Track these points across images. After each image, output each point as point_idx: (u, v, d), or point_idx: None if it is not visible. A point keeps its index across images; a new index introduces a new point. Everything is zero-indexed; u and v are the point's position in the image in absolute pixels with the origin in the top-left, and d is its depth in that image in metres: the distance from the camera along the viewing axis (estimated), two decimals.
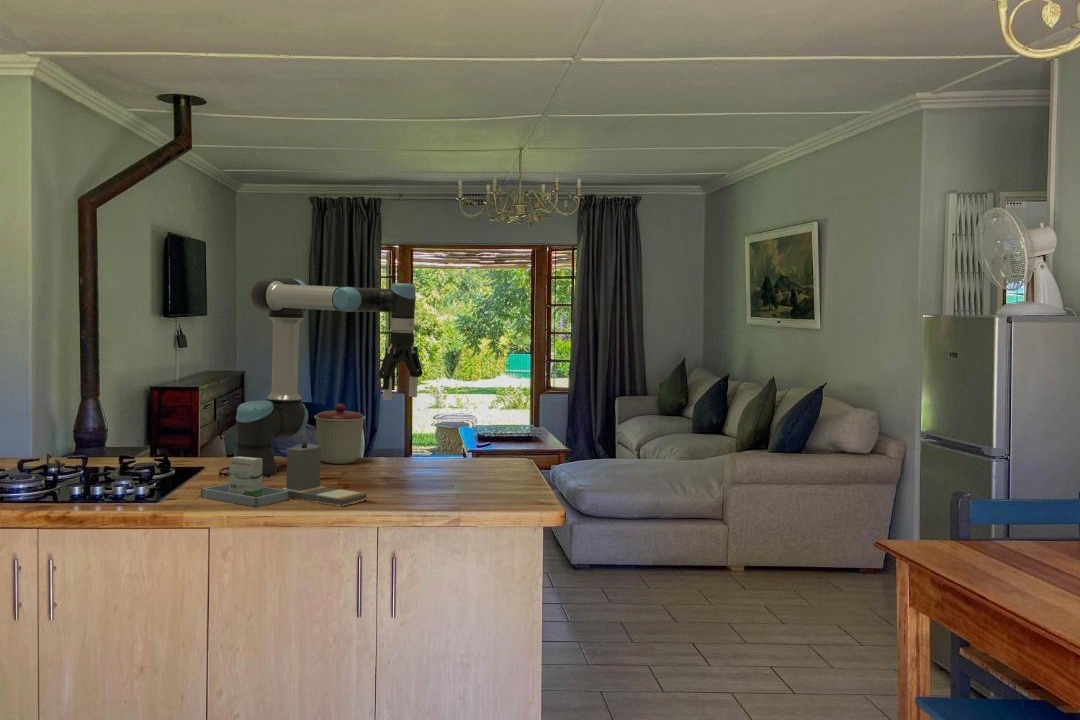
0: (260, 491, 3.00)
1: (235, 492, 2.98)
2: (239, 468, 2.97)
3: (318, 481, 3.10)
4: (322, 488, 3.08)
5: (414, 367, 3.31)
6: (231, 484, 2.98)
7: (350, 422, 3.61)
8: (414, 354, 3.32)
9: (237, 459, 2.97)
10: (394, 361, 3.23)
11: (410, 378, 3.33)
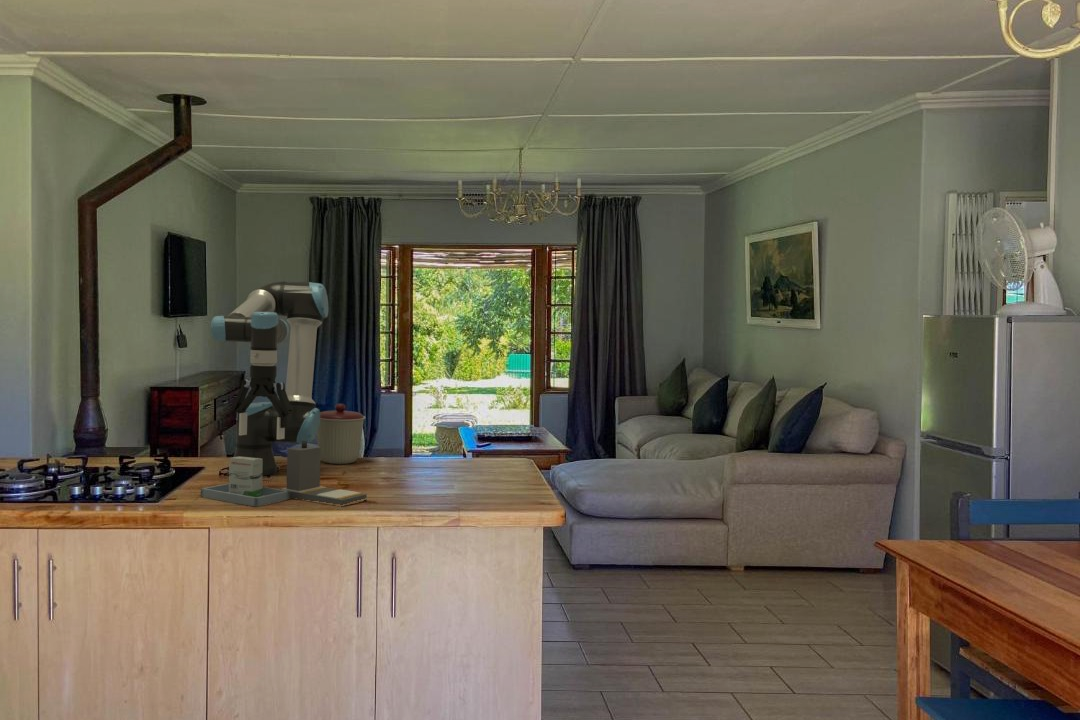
0: (260, 491, 3.00)
1: (235, 492, 2.98)
2: (239, 468, 2.97)
3: (318, 481, 3.10)
4: (322, 488, 3.08)
5: (275, 405, 2.97)
6: (231, 484, 2.98)
7: (350, 422, 3.61)
8: None
9: (237, 459, 2.97)
10: None
11: None
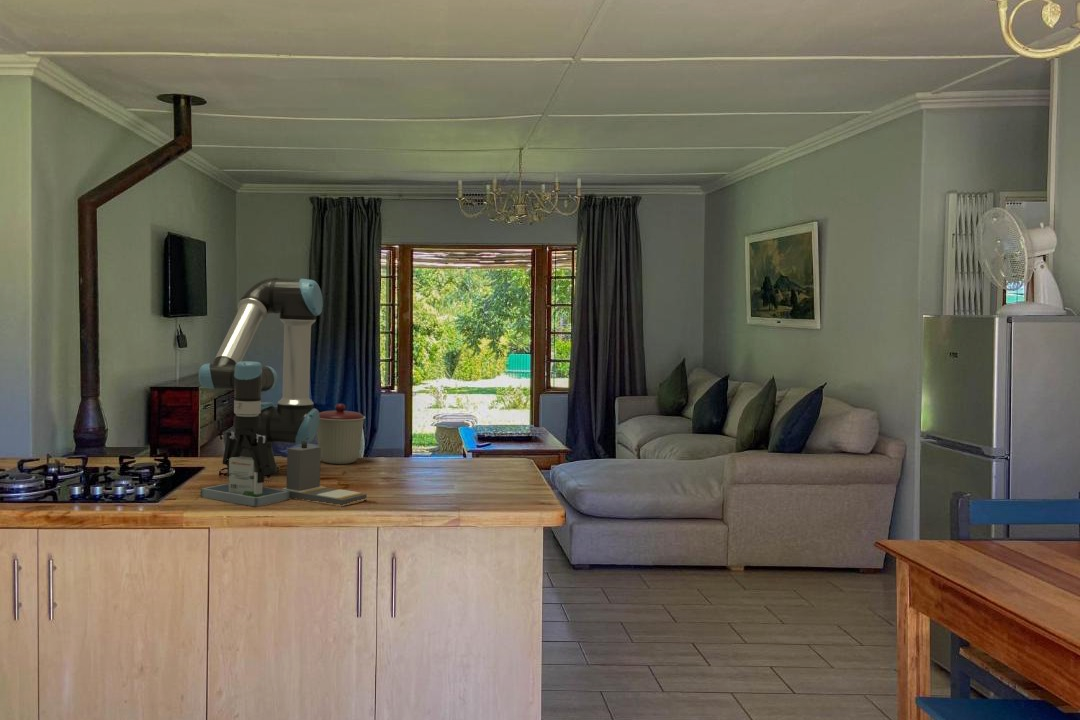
0: None
1: (235, 492, 2.98)
2: (239, 468, 2.97)
3: (318, 481, 3.10)
4: (322, 488, 3.08)
5: (254, 459, 2.96)
6: (231, 484, 2.98)
7: (350, 422, 3.61)
8: None
9: (237, 459, 2.97)
10: None
11: None
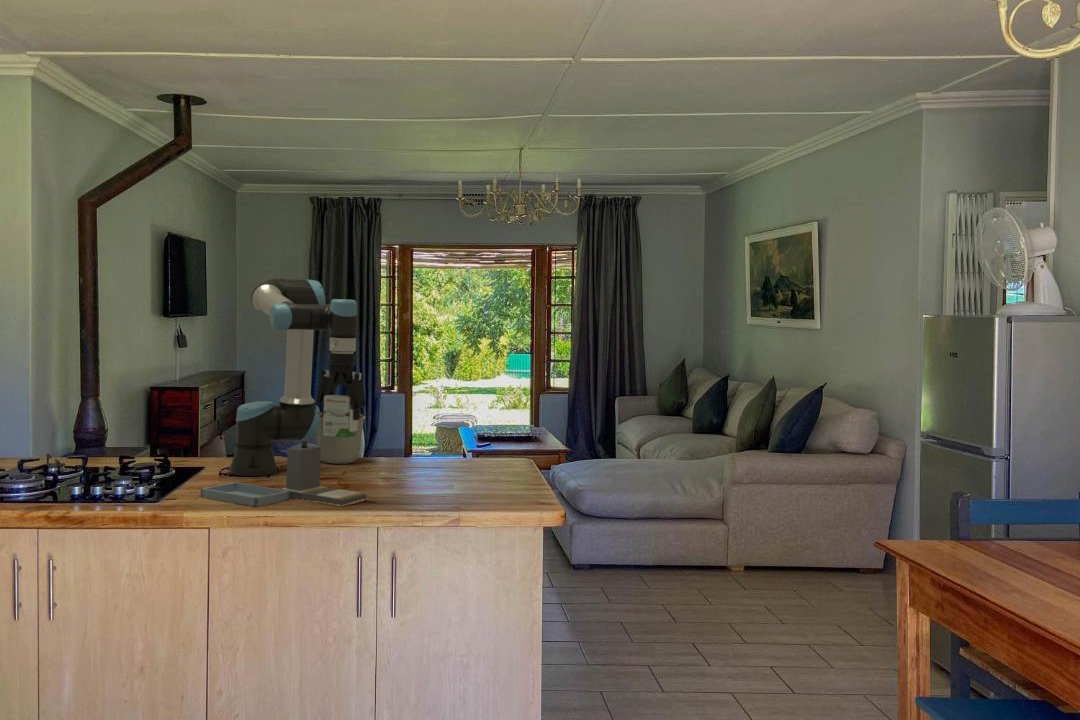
0: None
1: (330, 429, 2.98)
2: (334, 405, 2.97)
3: (318, 481, 3.10)
4: (322, 488, 3.08)
5: (349, 396, 2.96)
6: (326, 422, 2.98)
7: None
8: None
9: (332, 396, 2.97)
10: None
11: None
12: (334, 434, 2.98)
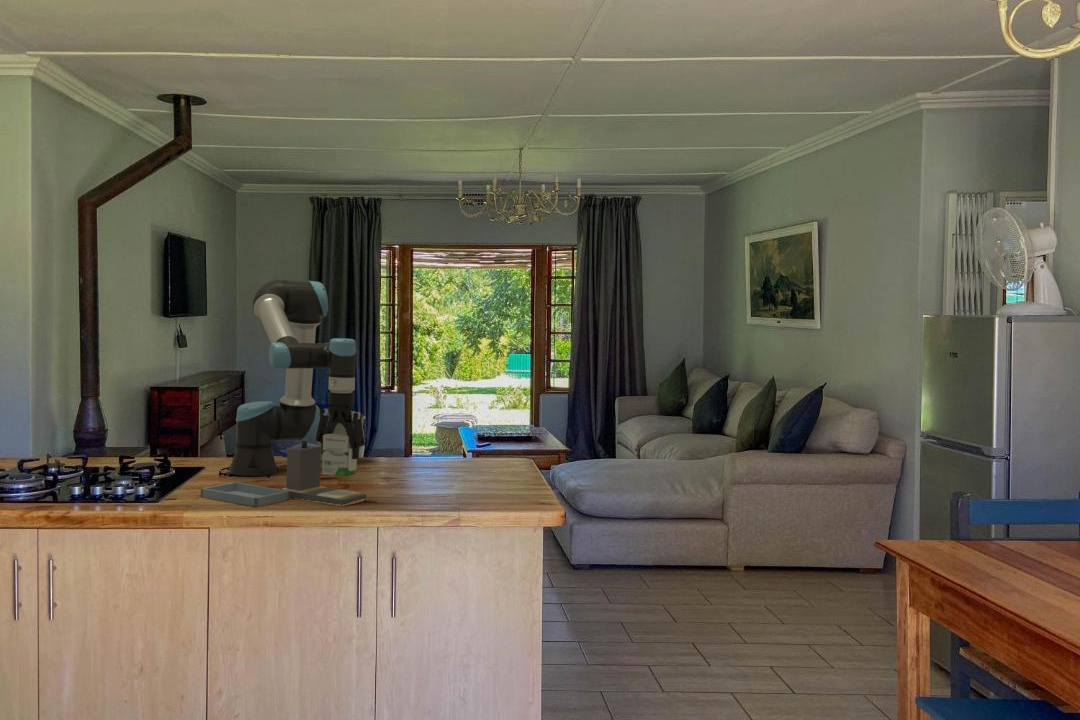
0: None
1: (329, 468, 2.99)
2: (333, 444, 2.98)
3: (318, 481, 3.10)
4: (322, 488, 3.08)
5: (349, 435, 2.97)
6: (325, 461, 2.99)
7: None
8: None
9: (331, 435, 2.98)
10: None
11: None
12: (333, 473, 2.98)
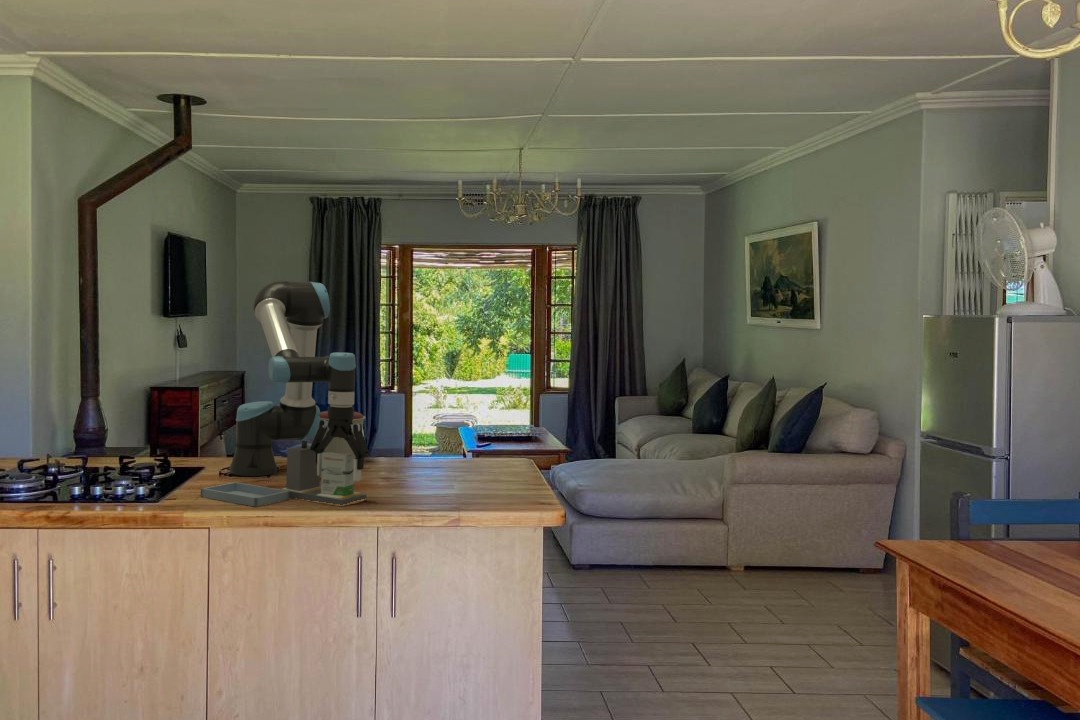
0: (352, 486, 3.01)
1: (328, 487, 2.99)
2: (332, 463, 2.98)
3: (318, 481, 3.10)
4: None
5: (352, 447, 2.96)
6: (323, 480, 3.00)
7: None
8: None
9: (330, 454, 2.99)
10: None
11: None
12: (332, 492, 2.99)
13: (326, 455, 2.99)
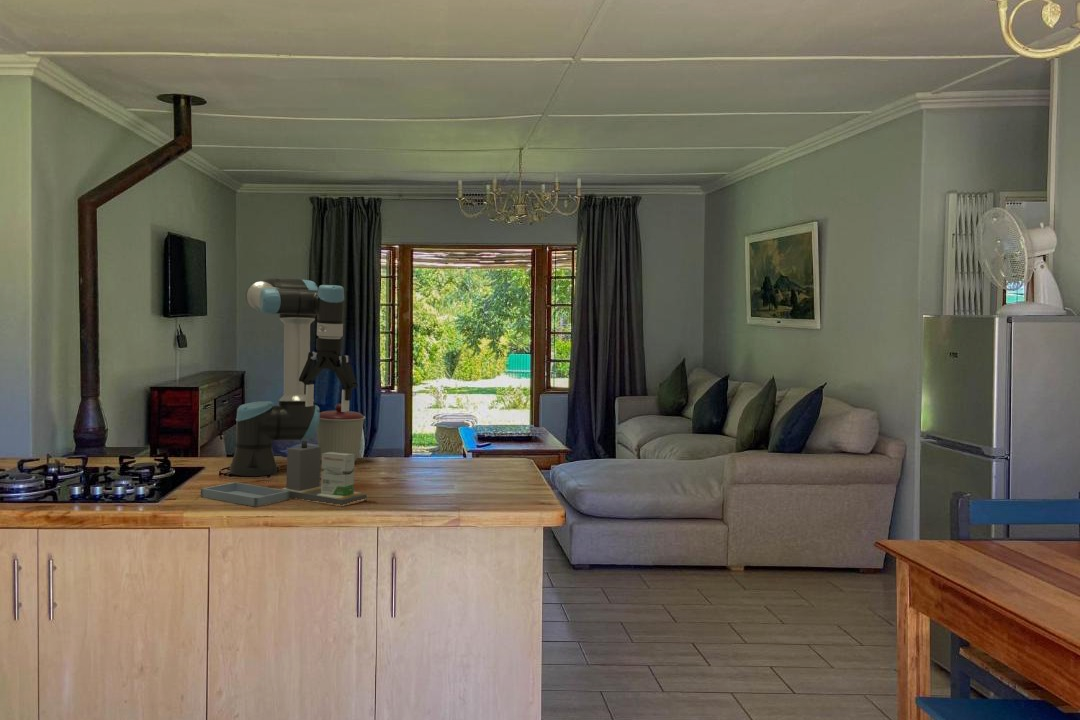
0: (352, 486, 3.01)
1: (328, 487, 2.99)
2: (332, 463, 2.98)
3: (318, 481, 3.10)
4: None
5: (340, 378, 3.01)
6: (323, 480, 3.00)
7: (350, 422, 3.61)
8: None
9: (330, 454, 2.99)
10: None
11: None
12: (332, 492, 2.99)
13: (326, 455, 2.99)
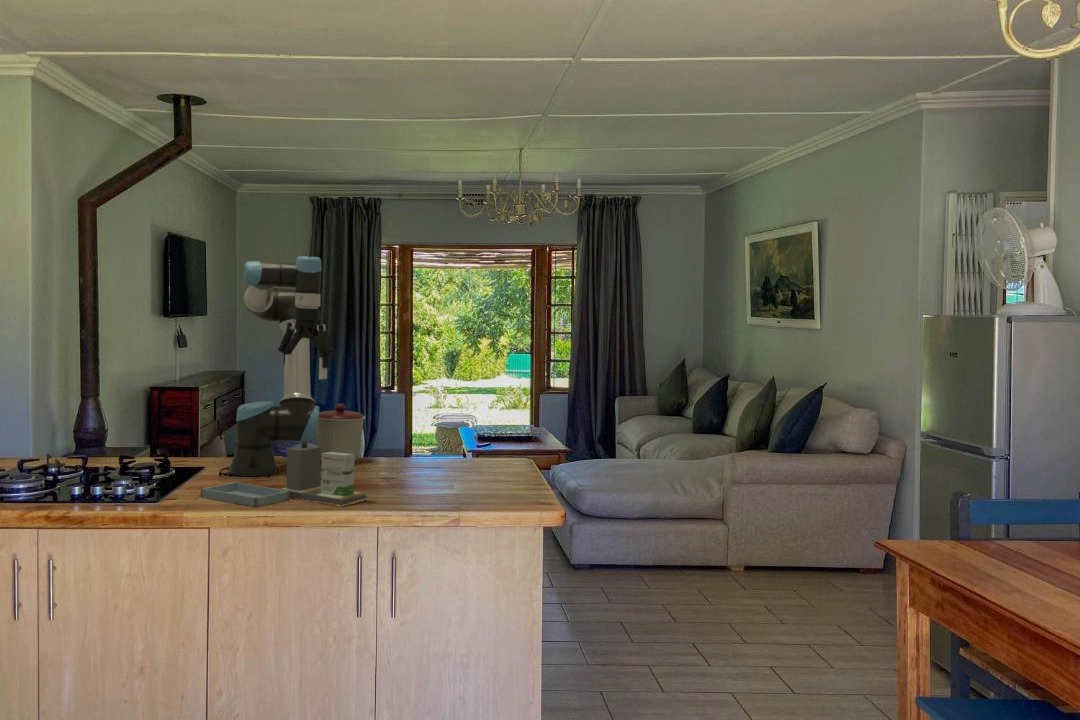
0: (352, 486, 3.01)
1: (328, 487, 2.99)
2: (332, 463, 2.98)
3: (318, 481, 3.10)
4: None
5: (317, 346, 3.09)
6: (323, 480, 3.00)
7: (350, 422, 3.61)
8: None
9: (330, 454, 2.99)
10: None
11: None
12: (332, 492, 2.99)
13: (326, 455, 2.99)
